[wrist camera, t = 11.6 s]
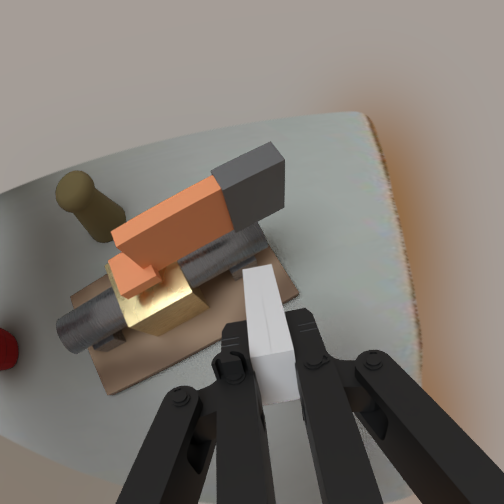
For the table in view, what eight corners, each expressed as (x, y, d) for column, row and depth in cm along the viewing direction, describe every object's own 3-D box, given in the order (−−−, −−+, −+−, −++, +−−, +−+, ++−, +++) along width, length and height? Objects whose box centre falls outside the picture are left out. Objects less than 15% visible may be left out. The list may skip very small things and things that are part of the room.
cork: (124, 199, 44) (89, 155, 34) (127, 235, 42) (88, 196, 32) (89, 211, 44) (50, 173, 34) (91, 247, 42) (46, 214, 32)
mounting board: (76, 299, 40) (70, 296, 38) (240, 204, 42) (238, 198, 41) (113, 394, 35) (107, 395, 33) (298, 295, 38) (298, 292, 36)
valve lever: (134, 302, 29) (88, 277, 21) (121, 270, 30) (76, 237, 22) (288, 218, 30) (290, 167, 22) (269, 190, 31) (265, 134, 24)
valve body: (83, 316, 37) (45, 303, 30) (245, 223, 40) (237, 189, 32) (102, 366, 35) (64, 363, 27) (275, 271, 37) (274, 246, 30)
